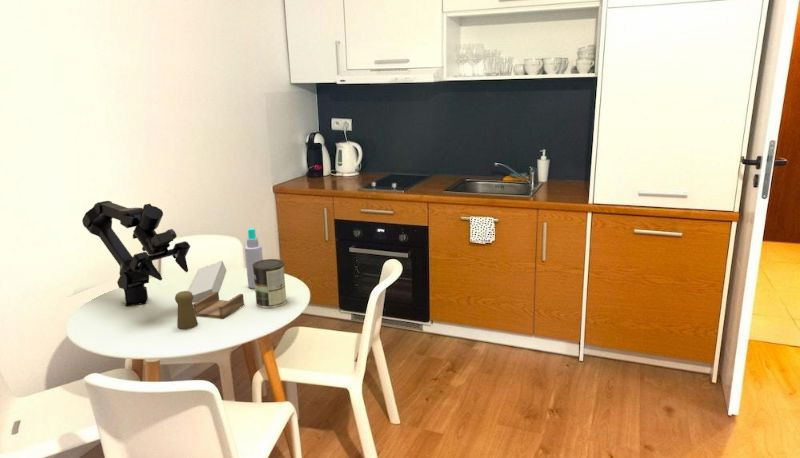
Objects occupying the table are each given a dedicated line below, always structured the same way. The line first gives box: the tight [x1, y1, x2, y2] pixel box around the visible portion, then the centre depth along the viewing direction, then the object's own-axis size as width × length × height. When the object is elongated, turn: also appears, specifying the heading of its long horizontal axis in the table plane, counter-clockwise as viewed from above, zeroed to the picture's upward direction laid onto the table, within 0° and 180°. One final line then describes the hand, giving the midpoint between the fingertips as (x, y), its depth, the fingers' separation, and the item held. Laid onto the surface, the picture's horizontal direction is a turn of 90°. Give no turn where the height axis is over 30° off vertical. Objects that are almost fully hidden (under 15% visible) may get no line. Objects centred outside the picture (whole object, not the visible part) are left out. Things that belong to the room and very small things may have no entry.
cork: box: [174, 290, 199, 330], centre depth 174 cm, size 6×6×11 cm
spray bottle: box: [244, 227, 264, 290], centre depth 206 cm, size 6×6×22 cm
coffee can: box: [252, 258, 288, 309], centre depth 191 cm, size 10×10×14 cm
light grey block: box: [187, 260, 227, 304], centre depth 212 cm, size 34×5×10 cm
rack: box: [192, 292, 245, 320], centre depth 187 cm, size 11×12×4 cm
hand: (174, 275), depth 179 cm, fingers open, 9 cm apart
